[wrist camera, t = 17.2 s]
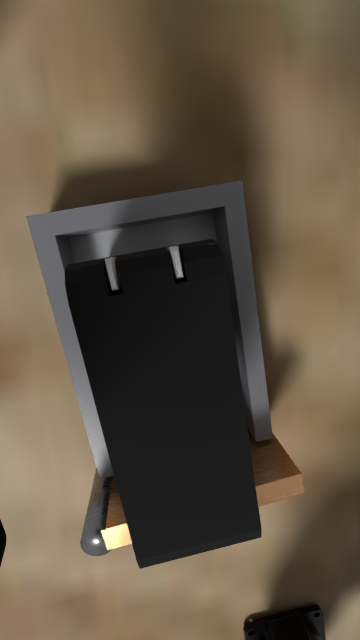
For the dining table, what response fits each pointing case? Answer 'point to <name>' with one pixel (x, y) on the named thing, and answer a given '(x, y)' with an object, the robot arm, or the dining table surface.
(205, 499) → the electronic device
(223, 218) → the grey shallow open box
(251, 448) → the rectangular wooden block
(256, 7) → the dining table surface
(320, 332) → the dining table surface
